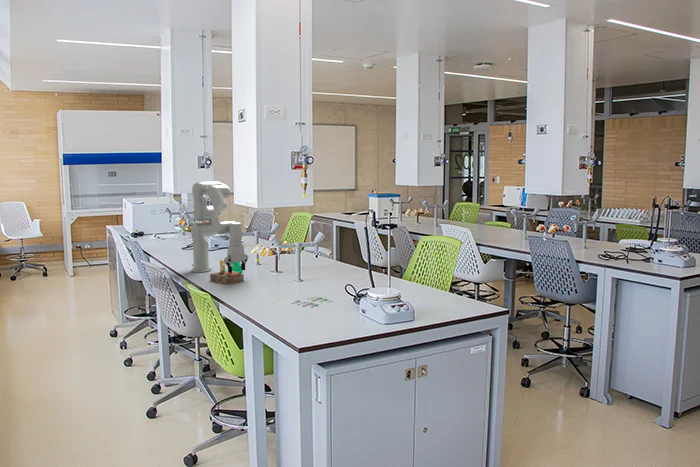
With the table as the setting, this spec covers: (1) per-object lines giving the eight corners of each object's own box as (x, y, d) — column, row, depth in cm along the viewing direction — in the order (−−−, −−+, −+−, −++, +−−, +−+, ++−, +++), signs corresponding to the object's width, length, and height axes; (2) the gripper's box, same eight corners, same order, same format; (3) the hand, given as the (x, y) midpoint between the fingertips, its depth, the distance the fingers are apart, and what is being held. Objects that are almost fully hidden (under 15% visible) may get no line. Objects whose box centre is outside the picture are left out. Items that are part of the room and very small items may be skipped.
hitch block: (210, 280, 344) (210, 271, 343) (226, 277, 353) (226, 268, 352) (227, 284, 333) (226, 275, 332) (243, 281, 342) (243, 272, 341)
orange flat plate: (224, 273, 339) (224, 272, 339) (232, 272, 343) (232, 270, 343) (231, 276, 334) (231, 274, 334) (239, 274, 339) (239, 273, 339)
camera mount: (223, 273, 365) (222, 258, 363) (233, 272, 369) (233, 256, 368) (231, 276, 355) (231, 260, 354) (242, 275, 360) (242, 259, 359)
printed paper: (312, 293, 311) (312, 290, 311) (355, 302, 292) (355, 300, 292) (272, 303, 288) (272, 301, 288) (315, 315, 269) (315, 312, 269)
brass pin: (219, 279, 345) (218, 260, 344) (223, 279, 348) (222, 259, 346) (222, 280, 343) (221, 261, 342) (226, 279, 346) (225, 260, 344)
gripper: (243, 241, 349) (244, 268, 351) (220, 244, 337) (221, 272, 339) (251, 242, 344) (252, 269, 346) (227, 245, 332) (228, 274, 334)
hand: (236, 271), depth 343 cm, fingers open, 9 cm apart
